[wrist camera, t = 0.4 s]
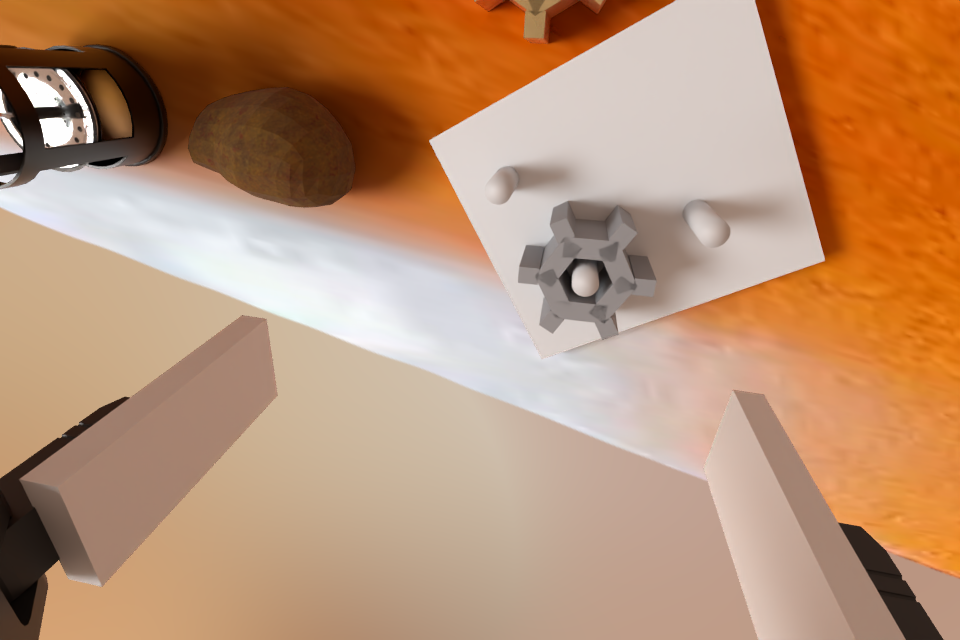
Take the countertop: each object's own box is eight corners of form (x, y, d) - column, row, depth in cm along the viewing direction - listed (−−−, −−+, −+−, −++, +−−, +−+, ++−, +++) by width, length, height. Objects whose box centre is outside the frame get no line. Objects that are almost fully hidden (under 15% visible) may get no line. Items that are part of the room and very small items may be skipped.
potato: (245, 49, 38) (159, 42, 30) (385, 119, 38) (336, 130, 31) (227, 153, 42) (147, 170, 34) (354, 216, 42) (304, 247, 34)
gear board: (435, 137, 38) (405, 149, 31) (734, -32, 30) (778, -62, 24) (543, 348, 44) (537, 395, 38) (813, 251, 37) (864, 289, 30)
